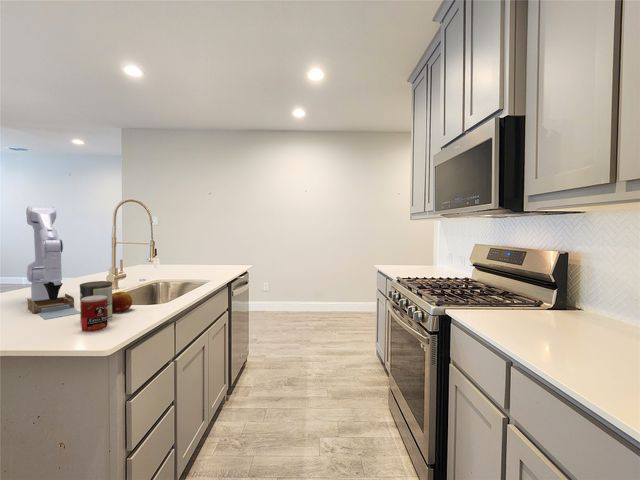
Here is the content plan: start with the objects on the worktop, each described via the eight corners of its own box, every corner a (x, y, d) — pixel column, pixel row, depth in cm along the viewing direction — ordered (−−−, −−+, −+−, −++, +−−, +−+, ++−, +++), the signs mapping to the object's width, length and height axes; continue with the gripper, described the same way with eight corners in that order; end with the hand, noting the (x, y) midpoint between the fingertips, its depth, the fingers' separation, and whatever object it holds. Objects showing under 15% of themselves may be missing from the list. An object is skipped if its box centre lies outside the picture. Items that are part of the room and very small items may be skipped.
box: (27, 308, 133) (27, 298, 132) (65, 302, 143) (65, 293, 143) (34, 314, 125) (34, 303, 125) (74, 307, 136) (73, 297, 136)
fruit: (103, 315, 126) (102, 295, 126) (108, 309, 134) (108, 291, 134) (130, 313, 130) (130, 294, 129) (134, 307, 138) (134, 289, 138)
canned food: (87, 333, 105) (86, 301, 105) (77, 328, 109) (76, 298, 109) (112, 327, 112) (111, 297, 111) (101, 323, 116) (101, 294, 115)
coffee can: (76, 324, 114) (75, 286, 113) (84, 317, 123) (83, 281, 122) (110, 321, 118) (109, 285, 117) (114, 314, 127) (114, 280, 127)
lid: (37, 315, 126) (37, 309, 126) (72, 309, 135) (72, 303, 135) (44, 321, 119) (44, 315, 119) (81, 314, 128) (81, 308, 128)
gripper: (35, 267, 132) (36, 298, 133) (44, 270, 124) (45, 304, 124) (57, 265, 138) (57, 295, 139) (66, 269, 129) (67, 301, 130)
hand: (53, 299), depth 132 cm, fingers closed
